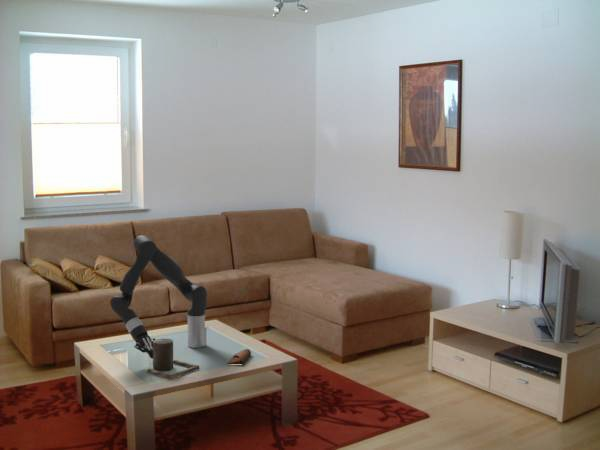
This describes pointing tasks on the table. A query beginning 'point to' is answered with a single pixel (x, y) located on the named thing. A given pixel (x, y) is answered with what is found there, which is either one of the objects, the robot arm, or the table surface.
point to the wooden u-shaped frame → (191, 368)
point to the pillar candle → (163, 354)
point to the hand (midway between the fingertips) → (153, 357)
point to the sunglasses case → (240, 357)
